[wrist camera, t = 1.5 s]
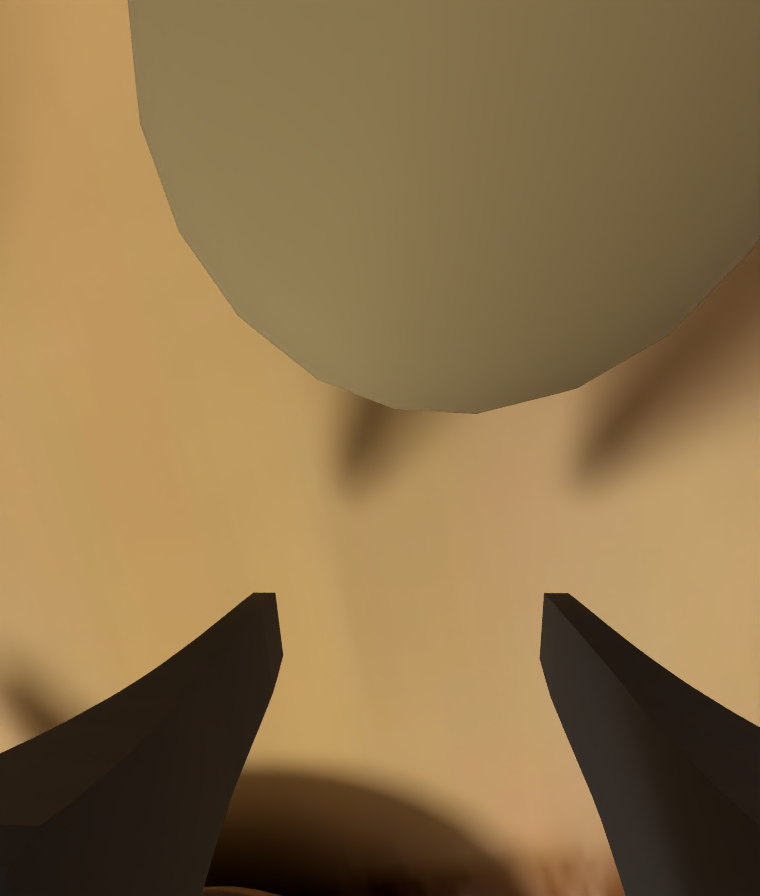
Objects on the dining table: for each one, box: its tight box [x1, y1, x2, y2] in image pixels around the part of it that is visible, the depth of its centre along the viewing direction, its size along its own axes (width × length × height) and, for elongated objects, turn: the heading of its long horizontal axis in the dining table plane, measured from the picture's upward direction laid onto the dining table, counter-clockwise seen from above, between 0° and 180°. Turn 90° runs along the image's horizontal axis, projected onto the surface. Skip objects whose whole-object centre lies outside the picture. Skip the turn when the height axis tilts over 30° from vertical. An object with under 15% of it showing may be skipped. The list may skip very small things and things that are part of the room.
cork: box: [128, 0, 760, 414], centre depth 7 cm, size 6×6×11 cm
